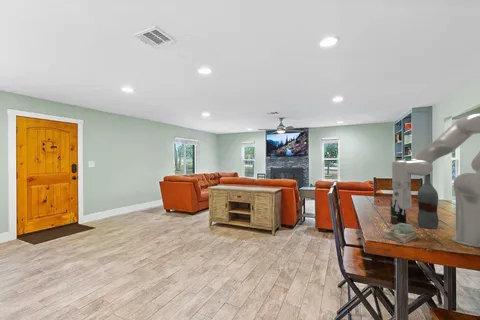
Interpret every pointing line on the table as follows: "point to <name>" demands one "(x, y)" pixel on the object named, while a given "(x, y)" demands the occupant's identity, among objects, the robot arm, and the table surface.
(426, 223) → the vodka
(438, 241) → the table surface
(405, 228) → the bottle
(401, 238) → the cradle
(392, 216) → the beer bottle
